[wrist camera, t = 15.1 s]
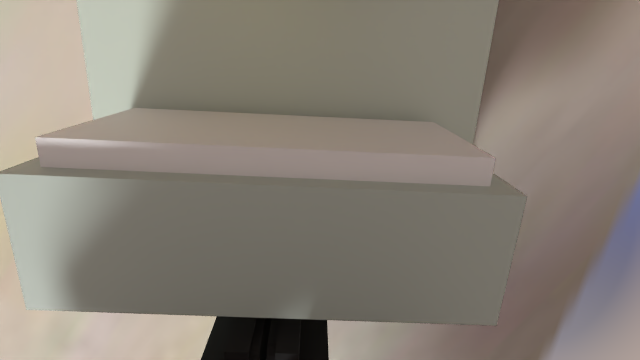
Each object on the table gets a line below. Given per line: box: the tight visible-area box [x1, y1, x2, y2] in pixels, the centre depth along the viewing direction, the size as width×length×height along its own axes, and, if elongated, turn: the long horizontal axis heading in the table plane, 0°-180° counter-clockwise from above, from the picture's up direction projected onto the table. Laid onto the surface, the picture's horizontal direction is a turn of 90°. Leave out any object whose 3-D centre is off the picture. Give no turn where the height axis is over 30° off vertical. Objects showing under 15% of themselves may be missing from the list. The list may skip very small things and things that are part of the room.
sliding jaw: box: [0, 108, 527, 326], centre depth 10 cm, size 4×10×5 cm, turn 87°
